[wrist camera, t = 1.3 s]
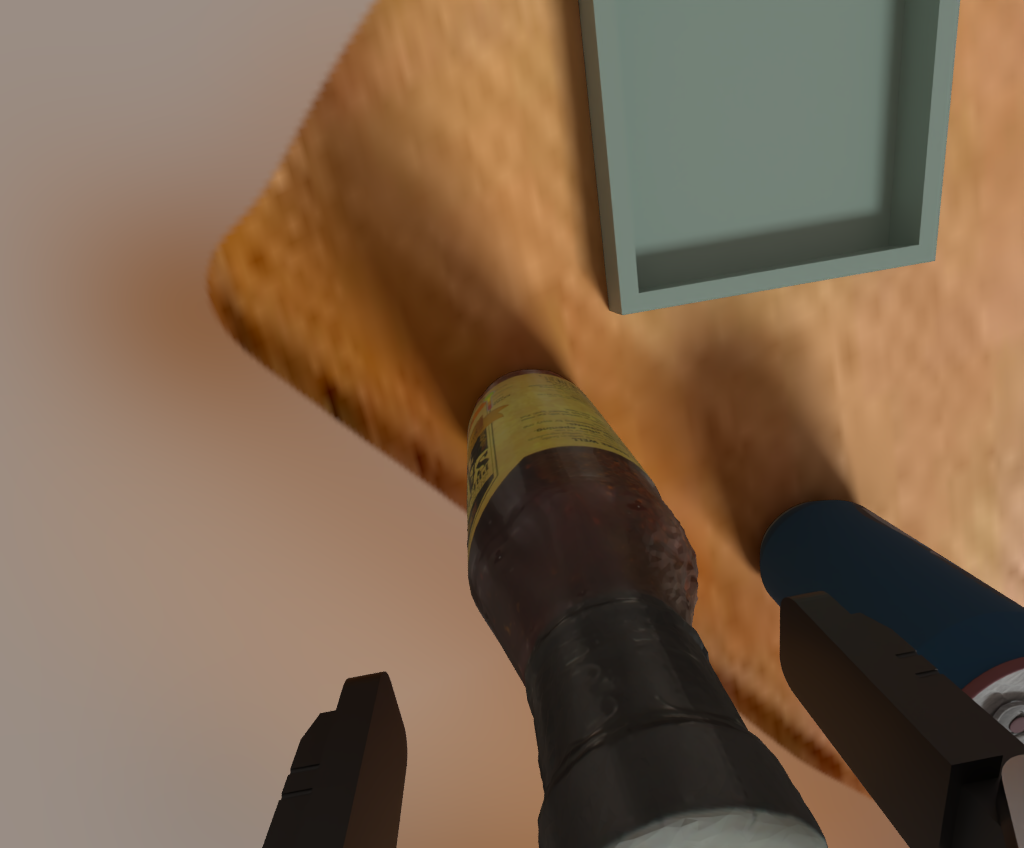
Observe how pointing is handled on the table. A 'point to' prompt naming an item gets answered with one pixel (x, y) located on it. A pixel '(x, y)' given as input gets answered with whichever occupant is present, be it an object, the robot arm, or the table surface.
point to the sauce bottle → (609, 637)
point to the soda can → (904, 597)
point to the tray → (764, 141)
